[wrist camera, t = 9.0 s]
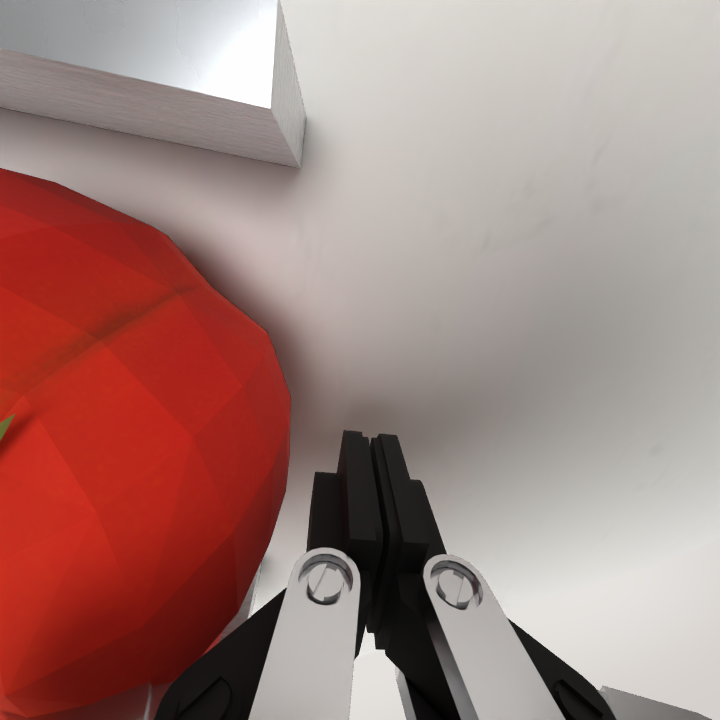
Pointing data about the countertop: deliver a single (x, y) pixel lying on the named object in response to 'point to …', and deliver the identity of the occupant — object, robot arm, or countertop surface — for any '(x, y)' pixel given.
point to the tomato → (122, 452)
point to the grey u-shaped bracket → (160, 80)
